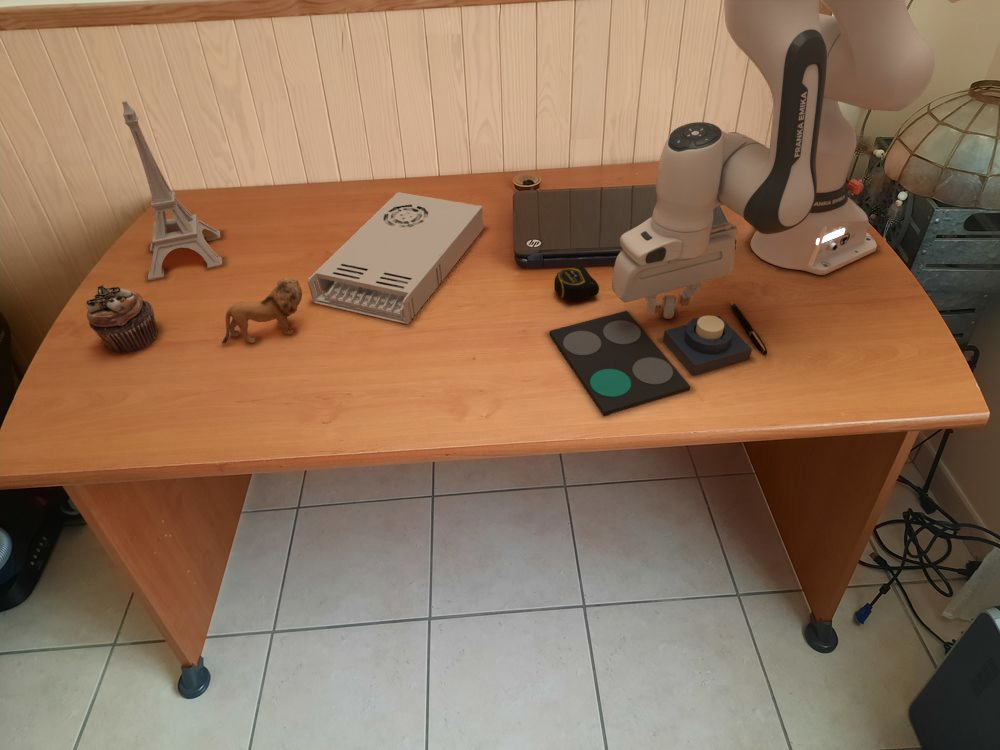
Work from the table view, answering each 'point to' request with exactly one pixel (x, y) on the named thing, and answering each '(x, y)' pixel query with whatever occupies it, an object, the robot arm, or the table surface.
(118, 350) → the cupcake
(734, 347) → the dock
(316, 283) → the power supply unit
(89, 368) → the table surface
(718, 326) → the button
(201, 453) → the table surface
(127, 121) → the eiffel tower
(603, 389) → the mat
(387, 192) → the table surface
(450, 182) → the table surface
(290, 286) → the lion figurine
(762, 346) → the fountain pen
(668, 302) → the smartwatch
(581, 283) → the tape measure
